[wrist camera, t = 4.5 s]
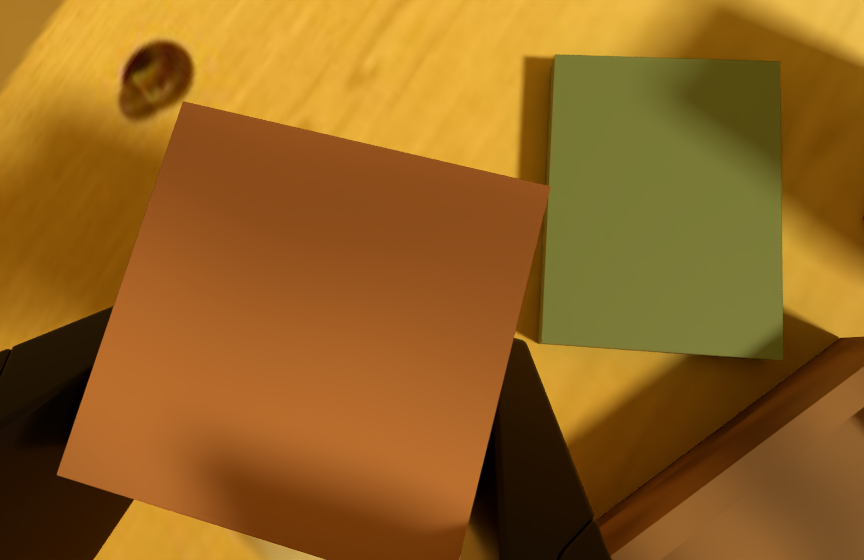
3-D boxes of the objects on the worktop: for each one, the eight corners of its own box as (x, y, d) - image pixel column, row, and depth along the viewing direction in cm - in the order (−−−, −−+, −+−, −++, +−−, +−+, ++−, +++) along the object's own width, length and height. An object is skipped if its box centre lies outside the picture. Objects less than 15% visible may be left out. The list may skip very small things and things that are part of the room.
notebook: (766, 359, 22) (783, 360, 21) (537, 343, 23) (541, 342, 21) (764, 76, 23) (780, 61, 22) (551, 69, 24) (555, 54, 23)
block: (462, 445, 16) (449, 598, 6) (311, 403, 16) (57, 474, 6) (500, 292, 16) (551, 185, 6) (354, 255, 16) (183, 101, 7)
